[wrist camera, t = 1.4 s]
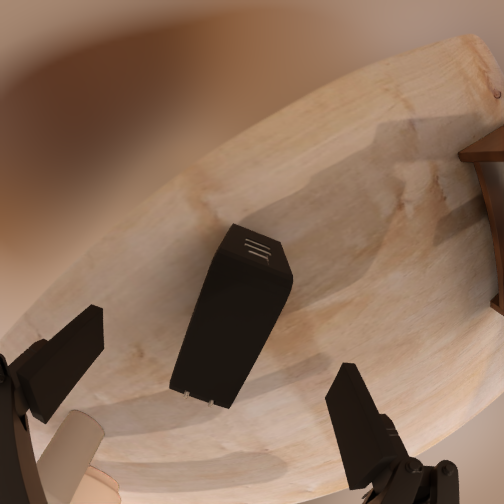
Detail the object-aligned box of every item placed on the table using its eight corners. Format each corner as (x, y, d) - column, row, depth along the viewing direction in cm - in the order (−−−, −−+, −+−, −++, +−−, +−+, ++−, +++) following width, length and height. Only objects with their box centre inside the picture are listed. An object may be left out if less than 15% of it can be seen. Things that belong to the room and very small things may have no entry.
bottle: (112, 436, 31) (52, 572, 4) (90, 439, 32) (32, 556, 5) (83, 407, 29) (4, 544, 2) (63, 412, 30) (-10, 528, 3)
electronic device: (280, 240, 23) (297, 283, 13) (237, 337, 25) (227, 414, 16) (233, 221, 23) (214, 251, 13) (195, 321, 25) (165, 393, 15)
